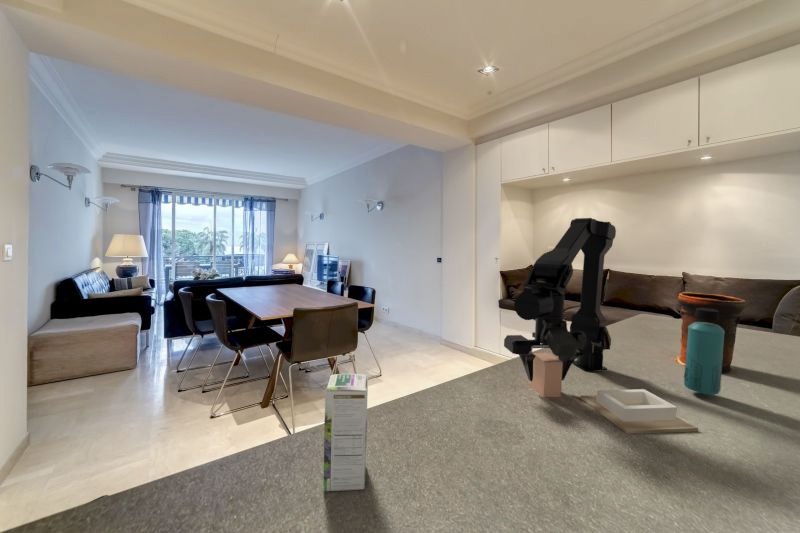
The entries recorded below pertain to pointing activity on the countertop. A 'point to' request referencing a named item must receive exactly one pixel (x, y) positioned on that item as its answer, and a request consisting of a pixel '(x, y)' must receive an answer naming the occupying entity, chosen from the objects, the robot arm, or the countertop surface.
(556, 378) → the terracotta peg
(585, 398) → the socket base
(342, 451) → the syrup box
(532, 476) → the countertop surface
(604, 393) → the socket collar
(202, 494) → the countertop surface
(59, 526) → the countertop surface
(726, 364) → the vessel
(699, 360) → the beverage bottle
